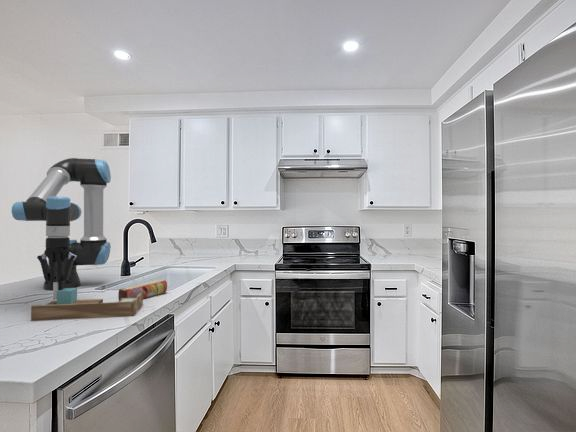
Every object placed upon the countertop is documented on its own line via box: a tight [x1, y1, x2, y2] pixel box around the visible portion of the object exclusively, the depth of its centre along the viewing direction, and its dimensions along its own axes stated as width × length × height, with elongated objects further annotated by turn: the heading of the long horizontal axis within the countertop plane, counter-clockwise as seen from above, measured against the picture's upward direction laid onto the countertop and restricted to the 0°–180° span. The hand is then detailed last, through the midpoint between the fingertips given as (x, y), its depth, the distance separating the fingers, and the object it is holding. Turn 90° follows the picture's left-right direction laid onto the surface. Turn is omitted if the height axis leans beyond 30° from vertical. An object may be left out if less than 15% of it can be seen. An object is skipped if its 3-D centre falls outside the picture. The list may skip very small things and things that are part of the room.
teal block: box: [56, 287, 78, 305], centre depth 124 cm, size 5×5×5 cm
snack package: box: [117, 278, 168, 301], centre depth 145 cm, size 21×7×7 cm, turn 151°
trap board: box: [30, 292, 144, 322], centre depth 123 cm, size 15×33×5 cm, turn 102°
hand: (56, 298), depth 124 cm, fingers closed
